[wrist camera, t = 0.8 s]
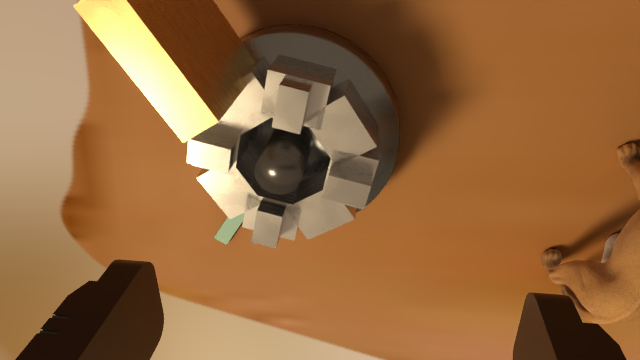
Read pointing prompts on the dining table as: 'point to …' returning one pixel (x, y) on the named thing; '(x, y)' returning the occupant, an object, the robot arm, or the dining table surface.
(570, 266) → the lion figurine
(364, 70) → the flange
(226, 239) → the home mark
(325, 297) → the dining table surface
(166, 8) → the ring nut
